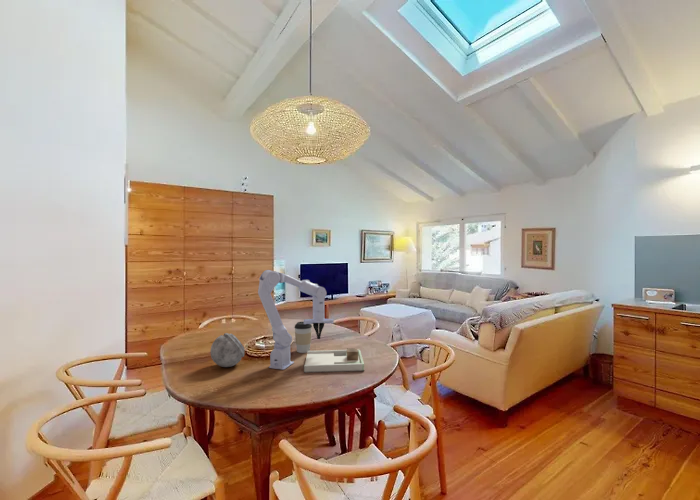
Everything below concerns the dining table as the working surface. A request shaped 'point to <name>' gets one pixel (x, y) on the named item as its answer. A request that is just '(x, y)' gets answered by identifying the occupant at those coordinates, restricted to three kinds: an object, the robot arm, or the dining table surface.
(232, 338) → the decorative orb
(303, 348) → the coffee cup
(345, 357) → the board
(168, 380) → the dining table surface
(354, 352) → the walnut block
